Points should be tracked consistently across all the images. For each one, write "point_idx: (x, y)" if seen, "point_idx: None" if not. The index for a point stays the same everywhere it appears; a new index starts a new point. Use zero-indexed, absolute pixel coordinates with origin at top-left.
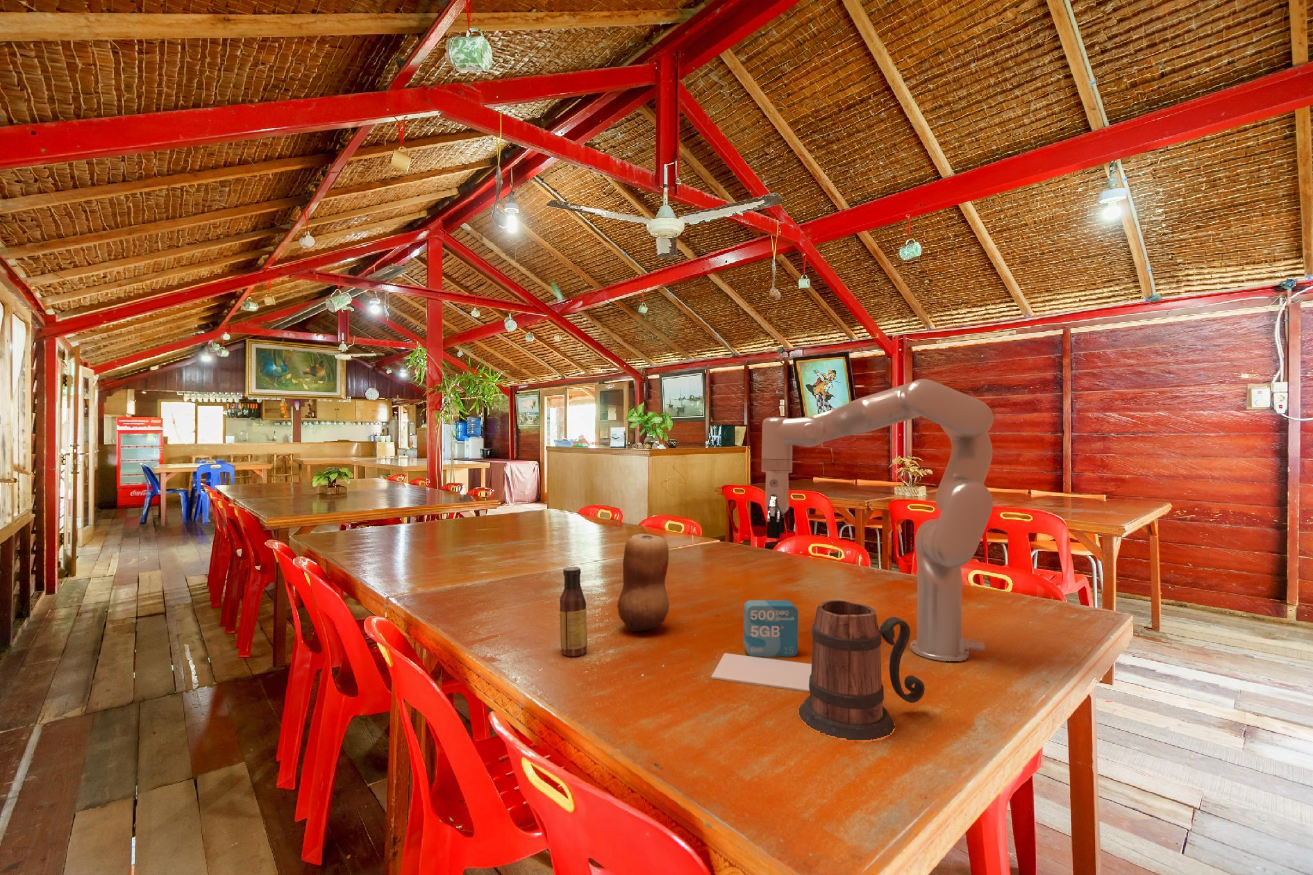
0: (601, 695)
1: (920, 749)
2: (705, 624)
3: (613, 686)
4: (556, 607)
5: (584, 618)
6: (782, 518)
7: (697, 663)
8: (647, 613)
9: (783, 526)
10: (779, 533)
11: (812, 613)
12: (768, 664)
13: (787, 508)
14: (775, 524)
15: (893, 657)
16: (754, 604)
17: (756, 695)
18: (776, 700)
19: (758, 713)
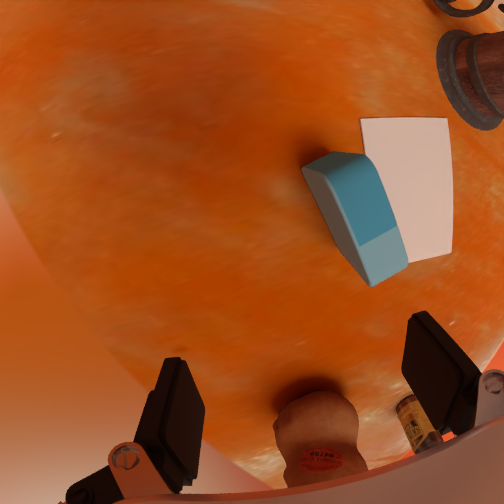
0: (489, 323)
1: (484, 23)
2: (240, 350)
3: (475, 327)
4: (275, 477)
5: (427, 423)
6: (168, 439)
7: (412, 288)
8: (353, 408)
9: (176, 386)
10: (437, 327)
11: (60, 200)
12: (392, 190)
13: (367, 501)
14: (478, 376)
15: (486, 8)
16: (401, 258)
17: (472, 183)
18: (475, 157)
19: (499, 172)
